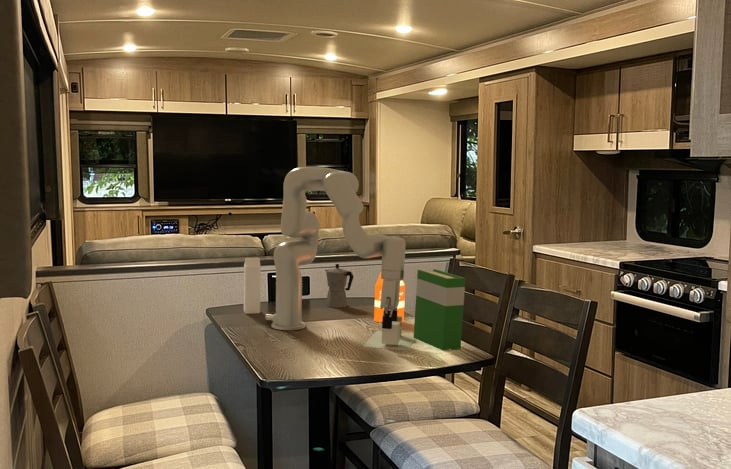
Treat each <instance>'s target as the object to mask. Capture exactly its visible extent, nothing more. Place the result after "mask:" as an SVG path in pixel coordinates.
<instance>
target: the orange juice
mask: <svg viewBox="0 0 731 469" xmlns="http://www.w3.org/2000/svg"><path fill="white" fill-rule="evenodd" d="M382 284H383V279H381V272H380V273H379V276H378V278H377V280H376V283H375V286H374V315H373V317H374V322H378V323H382V318H383V311H384V308H383V309H381V308H380V303H381V293H382ZM405 291H406V284H405V281H404V280H401V281H400V296H399V304H398V306H397V311H398V312H397V316H402V322H403V323H404V322H405V321H404V319H405V303H406V302H405V301H406V300H405V298H406V297H405V294H406V293H405Z"/></svg>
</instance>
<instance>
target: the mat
mask: <svg viewBox="0 0 731 469" xmlns="http://www.w3.org/2000/svg"><path fill="white" fill-rule="evenodd" d="M415 339H416V338H414V333H403V332H402V335H401V337H400V341H399V343H398V344H397V345H395V346H394V347H393V346H386V344H382V330H381V331H380V330H379V331H378V330H376V331H375V332H374V333H373V334H372V335H371V337H369V339H368V340H367V341H366V342H365V344H364V345H363V346H362V347H363V348H373V349H375V348H376V349H387V350H396V351H397V350H398V351H409V349H410V347H411V346H412V344H413V343H414V341H415Z"/></svg>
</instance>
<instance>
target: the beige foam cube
mask: <svg viewBox="0 0 731 469" xmlns="http://www.w3.org/2000/svg"><path fill="white" fill-rule="evenodd" d="M381 332H382V344H392V345H397V344H398V343H399V341H400V322H396V321H392V329H384V328H382V327H381Z"/></svg>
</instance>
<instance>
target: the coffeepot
mask: <svg viewBox="0 0 731 469" xmlns="http://www.w3.org/2000/svg"><path fill="white" fill-rule="evenodd" d="M325 273H326V279H327V280H326V281H327V282H326V283H327V287H328V292H327V296H326V300H325V306H326V307H328V308H332V309H333V308H334V309H337V308H338V309H339V308H341V309H342V308H346V307H347V306H348V300H347V299H348V298H347V293H346V291H350V290H351V286H352V284H353V280H354V275H353V272H352V271H349V270H346V269H343V268H340V263H335V268H331V269H330V268H329V269H325ZM348 278H349V279H348ZM347 280H348V283H347ZM346 286H347V287H346Z"/></svg>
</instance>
